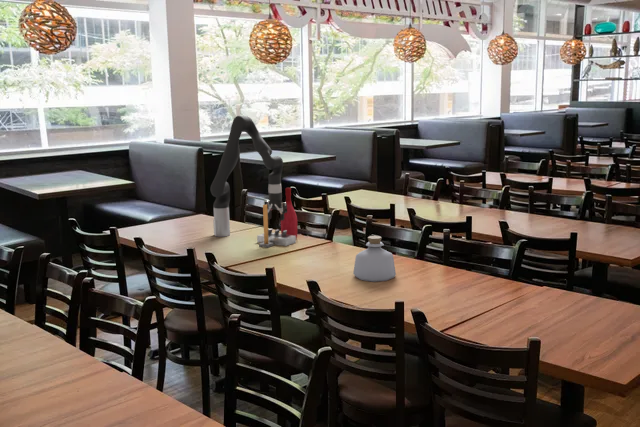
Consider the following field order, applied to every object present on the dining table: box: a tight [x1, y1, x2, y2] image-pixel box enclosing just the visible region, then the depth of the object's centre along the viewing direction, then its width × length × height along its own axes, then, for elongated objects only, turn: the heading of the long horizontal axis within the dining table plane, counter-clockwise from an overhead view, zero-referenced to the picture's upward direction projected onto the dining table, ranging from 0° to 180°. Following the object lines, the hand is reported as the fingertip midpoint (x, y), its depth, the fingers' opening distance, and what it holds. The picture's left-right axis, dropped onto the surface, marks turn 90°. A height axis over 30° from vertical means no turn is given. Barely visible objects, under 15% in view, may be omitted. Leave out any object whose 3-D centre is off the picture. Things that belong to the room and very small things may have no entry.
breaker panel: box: [256, 232, 297, 247], centre depth 381 cm, size 20×10×4 cm, turn 59°
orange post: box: [258, 204, 275, 249], centre depth 370 cm, size 6×6×24 cm
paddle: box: [268, 228, 274, 235], centre depth 382 cm, size 1×3×3 cm, turn 150°
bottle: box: [353, 235, 397, 283], centre depth 309 cm, size 20×20×19 cm
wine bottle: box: [280, 187, 298, 238], centre depth 389 cm, size 10×10×30 cm
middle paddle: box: [274, 228, 281, 235], centre depth 380 cm, size 1×3×3 cm, turn 149°
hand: (276, 219), depth 378 cm, fingers open, 8 cm apart
